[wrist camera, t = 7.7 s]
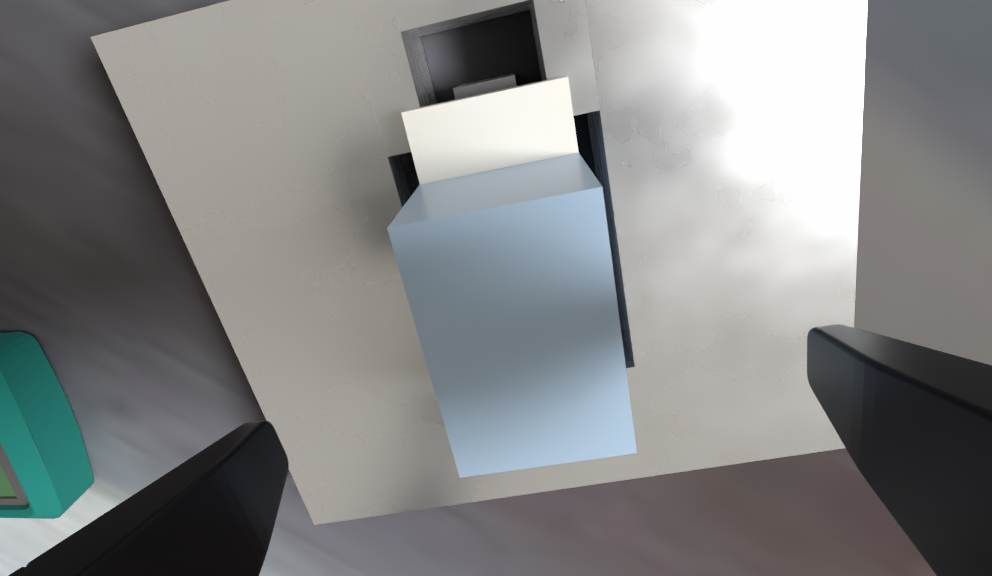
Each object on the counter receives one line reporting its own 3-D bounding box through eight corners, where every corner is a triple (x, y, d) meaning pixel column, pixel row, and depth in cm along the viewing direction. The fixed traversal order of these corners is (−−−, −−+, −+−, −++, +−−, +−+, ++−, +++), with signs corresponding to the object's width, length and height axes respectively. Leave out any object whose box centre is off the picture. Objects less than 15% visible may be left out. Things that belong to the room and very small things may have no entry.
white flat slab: (339, 465, 22) (314, 524, 19) (164, 41, 16) (90, 37, 13) (802, 393, 20) (848, 447, 17) (802, -124, 14) (874, -170, 11)
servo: (489, 369, 20) (475, 534, 13) (422, 92, 16) (354, 117, 9) (598, 351, 19) (644, 512, 13) (554, 63, 16) (587, 67, 9)
